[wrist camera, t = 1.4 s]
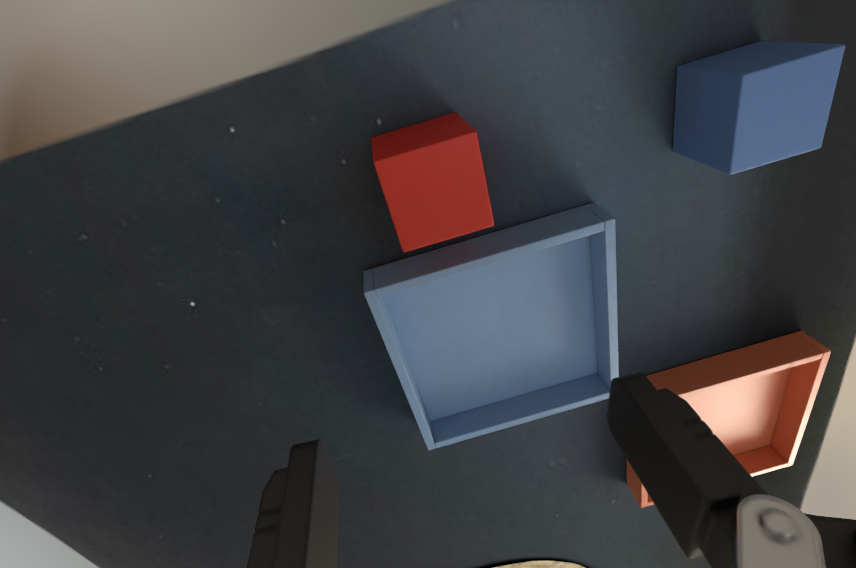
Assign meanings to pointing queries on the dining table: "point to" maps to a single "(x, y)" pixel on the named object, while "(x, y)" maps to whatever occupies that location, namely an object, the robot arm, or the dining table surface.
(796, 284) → the dining table surface
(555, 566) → the pie
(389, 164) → the red block
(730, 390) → the orange tray
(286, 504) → the robot arm
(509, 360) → the blue tray
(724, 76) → the blue block
